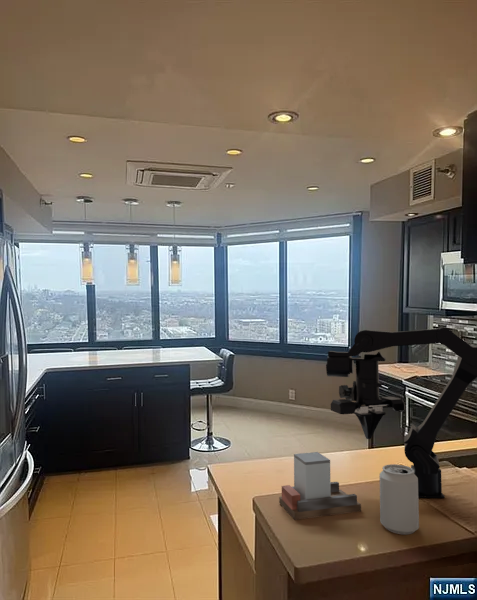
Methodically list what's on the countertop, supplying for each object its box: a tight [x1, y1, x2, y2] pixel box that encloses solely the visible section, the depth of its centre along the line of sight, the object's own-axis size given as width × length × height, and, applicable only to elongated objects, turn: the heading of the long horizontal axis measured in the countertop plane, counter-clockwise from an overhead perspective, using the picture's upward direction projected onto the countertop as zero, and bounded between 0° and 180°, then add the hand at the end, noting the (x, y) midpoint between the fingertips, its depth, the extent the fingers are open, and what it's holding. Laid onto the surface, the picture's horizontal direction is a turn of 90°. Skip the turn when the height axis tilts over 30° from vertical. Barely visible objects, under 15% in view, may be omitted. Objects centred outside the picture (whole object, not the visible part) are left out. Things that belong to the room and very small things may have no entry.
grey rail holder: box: [278, 481, 362, 521], centre depth 100 cm, size 16×9×4 cm, turn 106°
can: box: [379, 463, 420, 535], centre depth 90 cm, size 8×8×12 cm
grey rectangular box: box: [293, 451, 331, 500], centre depth 100 cm, size 6×6×10 cm
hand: (368, 438), depth 114 cm, fingers closed
